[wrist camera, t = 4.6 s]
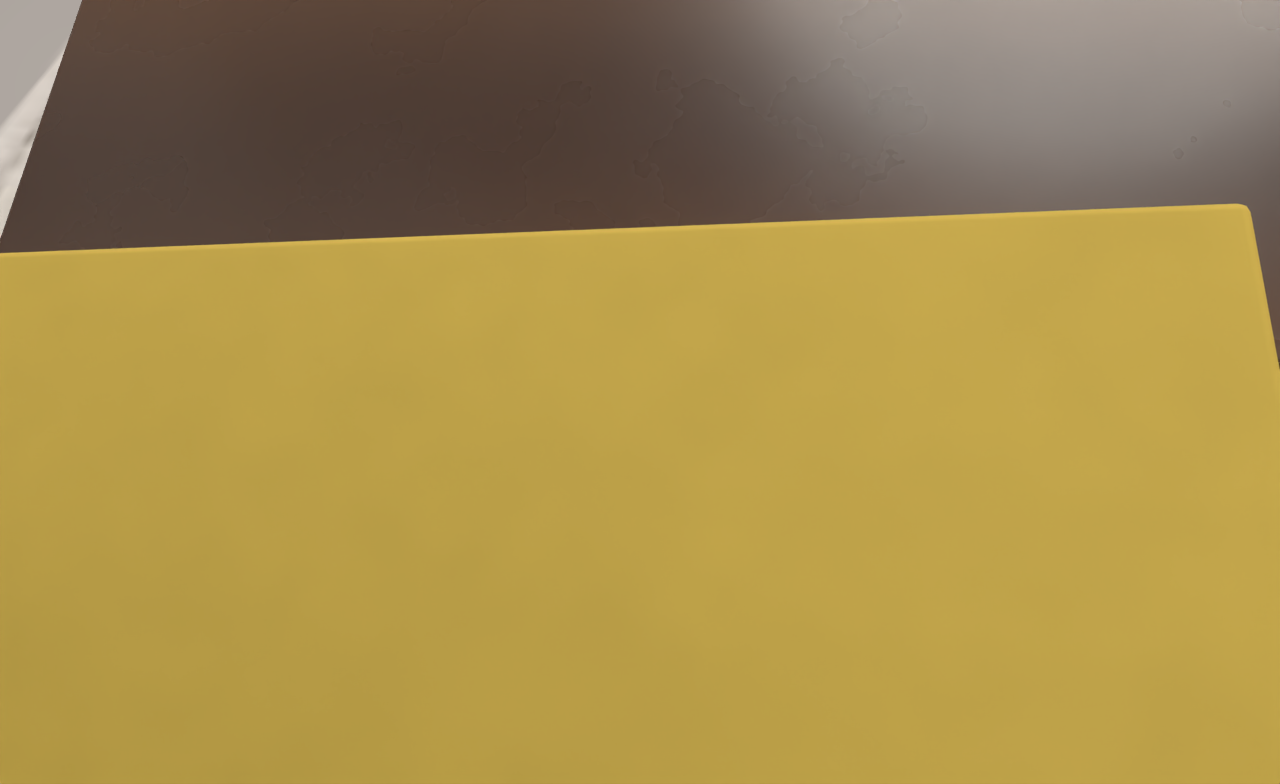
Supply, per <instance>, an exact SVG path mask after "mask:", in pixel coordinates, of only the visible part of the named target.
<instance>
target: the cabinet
mask: <svg viewBox="0 0 1280 784" xmlns="http://www.w3.org/2000/svg"><path fill="white" fill-rule="evenodd" d="M1214 204H1241V205H1245V206H1247V208H1248V209H1249V211H1250V212H1251V217H1252V222H1253V228H1254V233H1255V239H1256V244H1257V249H1258V255H1259V260H1260V266H1261V271H1262V277H1263V282H1264V287H1265V293H1266V298H1267V304H1268V309H1269V315H1270V320H1271V325H1272V331H1273V336H1274V342H1275V347H1276V353H1277V358H1278V363H1279V369H1280V0H82V2H81V5H80V8H79V11H78V14H77V17H76V20H75V23H74V26H73V29H72V31H71V34H70V37H69V40H68V43H67V46H66V49H65V52H64V55H63V58H62V61H61V64H60V66H59V69H58V72H57V75H56V78H55V81H54V84H53V87H52V90H51V93H50V96H49V99H48V101H47V104H46V107H45V110H44V113H43V116H42V119H41V122H40V125H39V128H38V131H37V133H36V136H35V139H34V142H33V145H32V148H31V151H30V154H29V157H28V160H27V163H26V166H25V168H24V171H23V174H22V177H21V180H20V183H19V186H18V189H17V192H16V195H15V198H14V201H13V203H12V206H11V209H10V212H9V215H8V218H7V221H6V224H5V227H4V230H3V233H2V235H1V238H0V253H19V252H44V251H69V250H93V249H118V248H143V247H168V246H193V245H218V244H243V243H268V242H293V241H318V240H343V239H367V238H392V237H417V236H442V235H467V234H492V233H517V232H542V231H567V230H592V229H616V228H641V227H666V226H691V225H716V224H741V223H766V222H791V221H816V220H841V219H865V218H890V217H915V216H940V215H965V214H990V213H1015V212H1040V211H1065V210H1090V209H1114V208H1139V207H1164V206H1189V205H1214Z"/></svg>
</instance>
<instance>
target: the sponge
mask: <svg viewBox="0 0 1280 784" xmlns="http://www.w3.org/2000/svg"><path fill="white" fill-rule="evenodd" d="M0 784H1280V369H1279V363H1278V358H1277V353H1276V347H1275V342H1274V336H1273V331H1272V325H1271V320H1270V315H1269V309H1268V304H1267V298H1266V293H1265V287H1264V282H1263V277H1262V271H1261V266H1260V260H1259V255H1258V249H1257V244H1256V239H1255V233H1254V228H1253V222H1252V217H1251V212H1250V211H1249V209H1248V208H1247V206H1245V205H1241V204H1214V205H1189V206H1164V207H1139V208H1114V209H1090V210H1065V211H1040V212H1015V213H990V214H965V215H940V216H915V217H890V218H865V219H841V220H816V221H791V222H766V223H741V224H716V225H691V226H666V227H641V228H616V229H592V230H567V231H542V232H517V233H492V234H467V235H442V236H417V237H392V238H367V239H343V240H318V241H293V242H268V243H243V244H218V245H193V246H168V247H143V248H118V249H93V250H69V251H44V252H19V253H0Z"/></svg>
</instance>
